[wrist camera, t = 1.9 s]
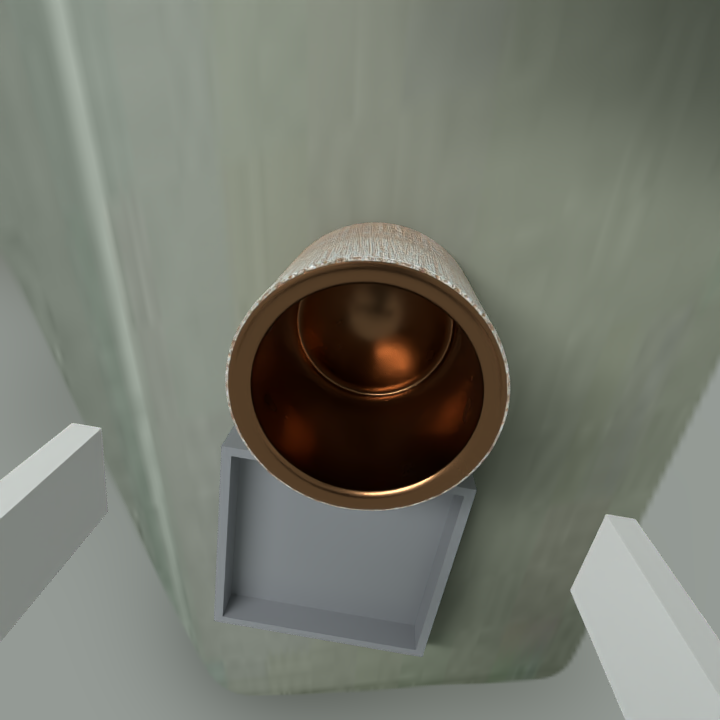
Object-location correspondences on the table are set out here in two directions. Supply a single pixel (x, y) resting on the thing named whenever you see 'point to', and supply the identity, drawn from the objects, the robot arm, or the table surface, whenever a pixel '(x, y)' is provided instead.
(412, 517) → the tray
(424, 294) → the planter
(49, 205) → the table surface
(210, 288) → the table surface
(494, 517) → the table surface
